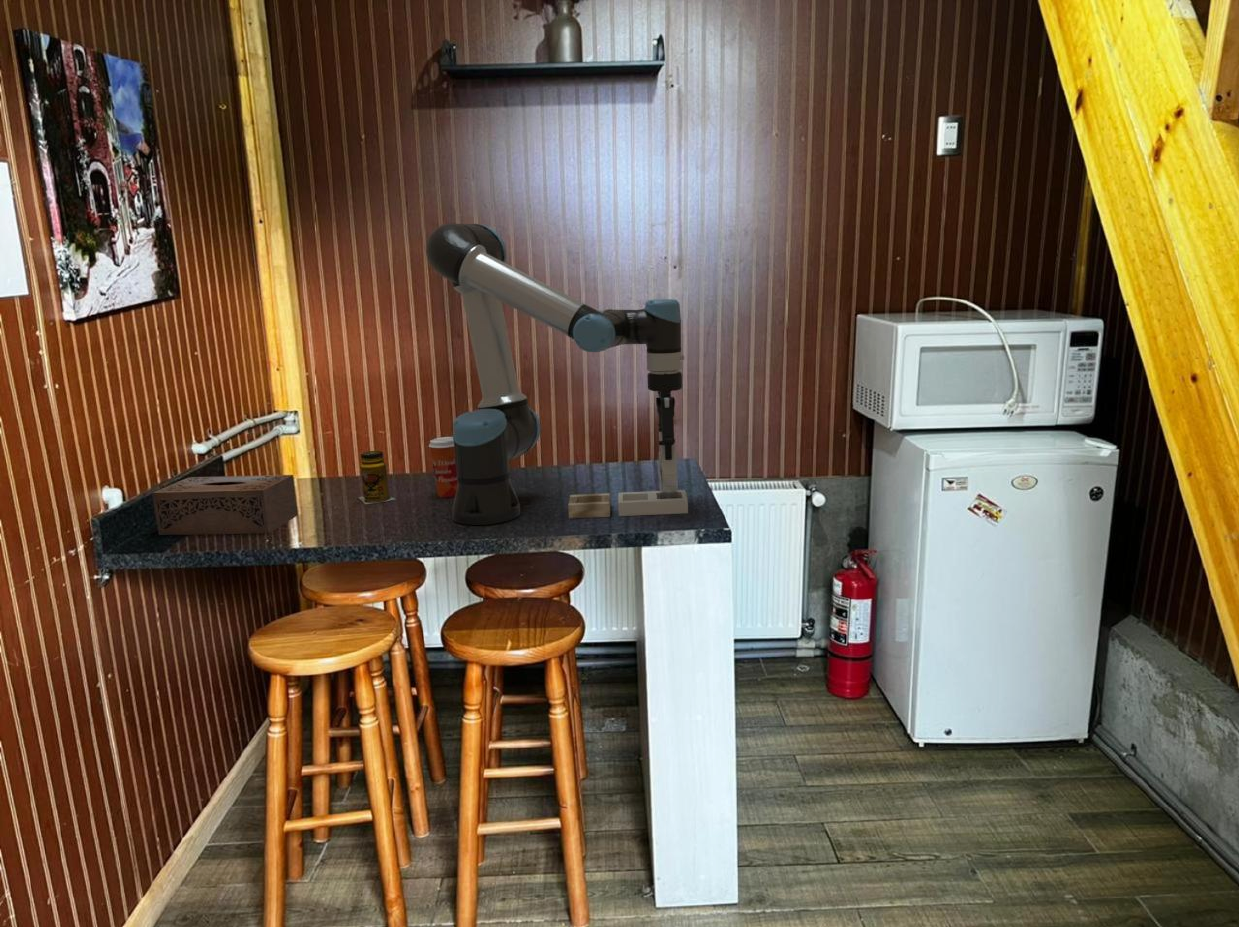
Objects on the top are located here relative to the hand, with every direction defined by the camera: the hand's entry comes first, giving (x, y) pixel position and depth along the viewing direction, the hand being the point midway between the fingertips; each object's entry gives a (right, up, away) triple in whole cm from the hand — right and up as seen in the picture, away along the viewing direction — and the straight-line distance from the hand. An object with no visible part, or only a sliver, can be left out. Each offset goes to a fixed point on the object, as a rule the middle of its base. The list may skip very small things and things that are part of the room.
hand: (667, 467), depth 201 cm
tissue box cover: (-100, -14, +6) cm, 101 cm away
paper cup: (-53, -7, +24) cm, 59 cm away
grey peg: (+1, -9, +2) cm, 10 cm away
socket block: (-17, -10, +2) cm, 20 cm away
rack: (-3, -9, +2) cm, 10 cm away
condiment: (-71, -8, +23) cm, 75 cm away
